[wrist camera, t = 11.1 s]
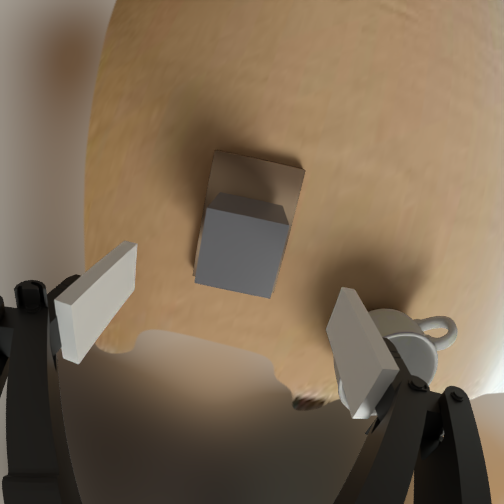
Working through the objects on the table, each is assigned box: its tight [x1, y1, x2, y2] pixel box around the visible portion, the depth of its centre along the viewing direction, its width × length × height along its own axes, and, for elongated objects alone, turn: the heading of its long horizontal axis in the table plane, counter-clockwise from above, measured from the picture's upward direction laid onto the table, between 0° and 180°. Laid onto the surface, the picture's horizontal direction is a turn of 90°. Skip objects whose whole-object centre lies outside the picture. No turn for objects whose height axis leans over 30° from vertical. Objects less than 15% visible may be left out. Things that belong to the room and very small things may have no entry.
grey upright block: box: [195, 192, 290, 298], centre depth 23 cm, size 5×5×7 cm
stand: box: [193, 150, 305, 293], centre depth 25 cm, size 12×8×8 cm, turn 168°
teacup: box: [334, 309, 457, 415], centre depth 29 cm, size 14×11×8 cm
